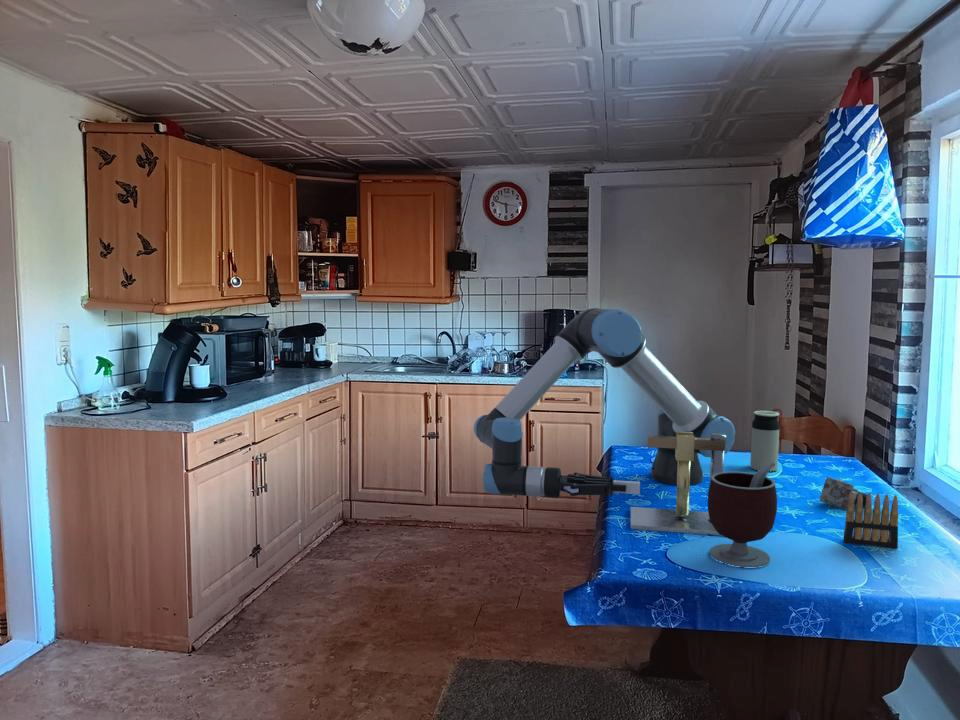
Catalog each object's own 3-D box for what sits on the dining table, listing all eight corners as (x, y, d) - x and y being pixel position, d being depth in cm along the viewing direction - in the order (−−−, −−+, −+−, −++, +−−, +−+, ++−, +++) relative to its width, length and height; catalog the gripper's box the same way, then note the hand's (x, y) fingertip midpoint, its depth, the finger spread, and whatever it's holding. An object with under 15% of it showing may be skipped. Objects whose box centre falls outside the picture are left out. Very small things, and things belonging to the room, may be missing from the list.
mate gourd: (737, 574, 145) (742, 478, 143) (691, 550, 158) (695, 461, 156) (794, 562, 151) (799, 470, 149) (746, 540, 164) (750, 455, 162)
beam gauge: (630, 528, 171) (633, 436, 169) (630, 510, 185) (633, 425, 183) (745, 537, 166) (749, 442, 164) (736, 517, 180) (740, 429, 177)
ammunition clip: (895, 546, 161) (899, 494, 160) (897, 548, 159) (901, 496, 158) (843, 540, 165) (846, 489, 163) (844, 543, 163) (847, 491, 161)
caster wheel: (866, 511, 193) (865, 516, 184) (821, 496, 198) (818, 500, 190) (873, 488, 192) (873, 492, 184) (828, 473, 198) (826, 476, 189)
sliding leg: (674, 519, 174) (677, 435, 172) (672, 512, 179) (675, 430, 177) (691, 520, 173) (694, 436, 171) (689, 513, 178) (692, 431, 176)
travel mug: (781, 472, 222) (784, 415, 220) (755, 472, 222) (758, 415, 220) (771, 465, 230) (774, 410, 228) (746, 465, 230) (749, 410, 228)
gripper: (547, 489, 188) (639, 495, 184) (541, 504, 176) (639, 511, 171) (547, 461, 188) (639, 466, 183) (541, 474, 175) (640, 480, 170)
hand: (639, 487), depth 177 cm, fingers closed
